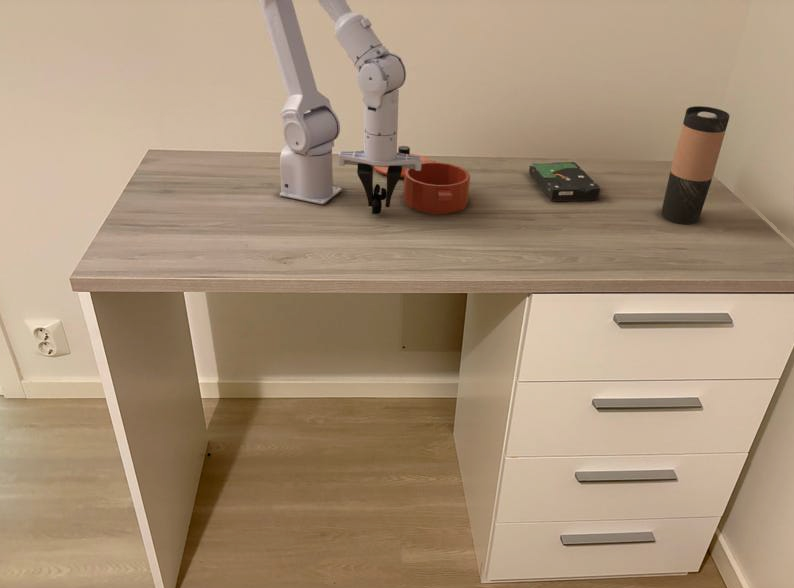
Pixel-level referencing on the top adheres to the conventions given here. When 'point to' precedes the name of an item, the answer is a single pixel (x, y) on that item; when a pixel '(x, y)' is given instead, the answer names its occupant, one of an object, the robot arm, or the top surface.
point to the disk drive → (564, 181)
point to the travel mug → (694, 163)
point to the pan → (436, 188)
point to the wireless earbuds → (378, 199)
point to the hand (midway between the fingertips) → (379, 204)
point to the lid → (404, 151)
